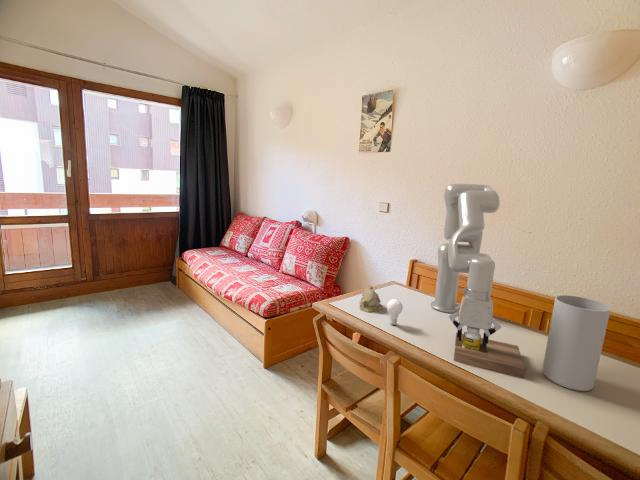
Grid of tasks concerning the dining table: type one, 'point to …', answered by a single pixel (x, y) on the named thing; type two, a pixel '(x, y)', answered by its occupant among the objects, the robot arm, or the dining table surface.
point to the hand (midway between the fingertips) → (471, 341)
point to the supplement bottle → (472, 338)
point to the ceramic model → (370, 300)
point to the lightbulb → (394, 310)
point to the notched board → (492, 357)
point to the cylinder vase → (575, 341)
